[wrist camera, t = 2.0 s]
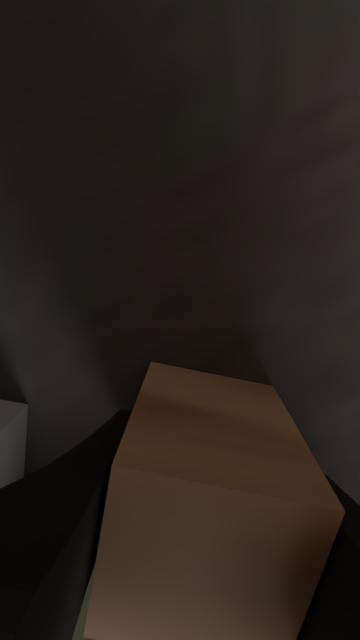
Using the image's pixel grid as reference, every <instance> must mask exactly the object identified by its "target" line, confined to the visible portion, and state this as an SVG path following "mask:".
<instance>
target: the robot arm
mask: <svg viewBox="0 0 360 640" xmlns="http://www.w3.org/2000/svg"><path fill="white" fill-rule="evenodd" d="M131 413H132V412H131V411H126V410H120V411H118V412H117V413H116V414H115V415H114V416H113V417H112V418H110V419H109V420H108V421H107V422H106V423H105V424H104V425H102V426H101V427H100V428H99V429H98V430H96V431H95V432H94V433H93V434H91V435H90V436H89V437H88V438H86V439H85V440H84V441H82V442H81V443H80V444H78V445H77V446H75V447H74V448H72V449H71V450H70V451H68V452H67V453H65V454H64V455H62V456H61V457H59V458H58V459H56V460H54V461H53V462H51V463H50V464H48V465H46V466H44V467H43V468H41V469H39V470H37V471H36V472H34V473H32V474H30V475H28V476H26V477H23V478H21V479H19V480H17V481H15V482H13V483H11V484H9V485H6V486H4V487H2V488H0V640H72V638H73V634H74V631H75V627H76V624H77V620H78V617H79V614H80V610H81V607H82V604H83V600H84V597H85V593H86V590H87V587H88V583H89V581H90V578H91V575H92V572H93V569H94V566H95V563H96V557H97V551H98V545H99V539H100V533H101V527H102V521H103V515H104V509H105V503H106V497H107V491H108V485H109V479H110V473H111V466H112V463H113V460H114V458H115V455H116V453H117V450H118V447H119V445H120V442H121V439H122V437H123V434H124V432H125V429H126V426H127V424H128V421H129V418H130V416H131ZM324 475H325V477H326V479H327V480H328V482H329V484H330V486H331V487H332V489H333V491H334V493H335V494H336V496H337V498H338V500H339V501H340V503H341V505H342V507H343V508H344V510H345V514H344V517H343V519H342V522H341V525H340V527H339V530H338V532H337V535H336V538H335V540H334V543H333V545H332V548H331V551H330V553H329V556H328V558H327V561H326V564H325V566H324V569H323V571H322V574H321V577H320V579H319V582H318V584H317V587H316V590H315V592H314V595H313V597H312V600H311V603H310V605H309V608H308V610H307V613H306V616H305V618H304V621H303V623H302V626H301V629H300V631H299V634H298V636H297V639H296V640H360V505H359V504H357V503H356V502H355V501H354V500H353V499H352V498H351V497H349V496H348V495H347V494H346V493H345V492H344V491H343V490H342V489H341V488H339V487H338V486H337V485H336V484H335V483H334V482H333V481H332V480H331V479H330V478H329V477H328V476H327V475H326V474H324Z"/></svg>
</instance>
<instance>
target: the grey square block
mask: <svg viewBox="0 0 360 640" xmlns="http://www.w3.org/2000/svg"><path fill="white" fill-rule="evenodd" d="M27 419H28V404H23V403H18V402H12V401H6V400H1V399H0V488H2V487H4V486H6V485H9V484H11V483H13V482H15V481H17V480H19V479H21V478H23V477H24V466H25V450H26V435H27Z"/></svg>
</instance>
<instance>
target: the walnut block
mask: <svg viewBox="0 0 360 640" xmlns="http://www.w3.org/2000/svg"><path fill="white" fill-rule="evenodd" d="M344 514H345V510H344V508H343V507H342V505H341V503H340V501H339V500H338V498H337V496H336V494H335V493H334V491H333V489H332V487H331V486H330V484H329V482H328V480H327V479H326V477H325V475H324V473H323V472H322V470H321V468H320V467H319V465H318V463H317V461H316V460H315V458H314V456H313V454H312V453H311V451H310V449H309V447H308V446H307V444H306V442H305V440H304V439H303V437H302V435H301V433H300V432H299V430H298V428H297V426H296V425H295V423H294V421H293V419H292V418H291V416H290V414H289V413H288V411H287V409H286V407H285V406H284V404H283V402H282V400H281V399H280V397H279V395H278V393H277V392H276V390H275V388H274V386H270V385H265V384H260V383H255V382H250V381H245V380H240V379H235V378H230V377H225V376H220V375H215V374H210V373H205V372H200V371H195V370H190V369H185V368H180V367H175V366H170V365H165V364H160V363H155V362H151V363H150V366H149V369H148V371H147V374H146V376H145V379H144V382H143V384H142V387H141V390H140V392H139V395H138V397H137V400H136V403H135V405H134V408H133V411H132V413H131V416H130V418H129V421H128V424H127V426H126V429H125V432H124V434H123V437H122V439H121V442H120V445H119V447H118V450H117V453H116V455H115V458H114V460H113V463H112V466H111V473H110V479H109V485H108V491H107V497H106V503H105V509H104V515H103V521H102V527H101V533H100V539H99V545H98V551H97V557H96V563H95V569H94V575H93V581H92V587H91V593H90V599H89V605H88V611H87V617H86V623H85V629H84V635H83V637H86V638H91V639H96V640H296V639H297V636H298V634H299V631H300V629H301V626H302V623H303V621H304V618H305V616H306V613H307V610H308V608H309V605H310V603H311V600H312V597H313V595H314V592H315V590H316V587H317V584H318V582H319V579H320V577H321V574H322V571H323V569H324V566H325V564H326V561H327V558H328V556H329V553H330V551H331V548H332V545H333V543H334V540H335V538H336V535H337V532H338V530H339V527H340V525H341V522H342V519H343V517H344Z"/></svg>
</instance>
